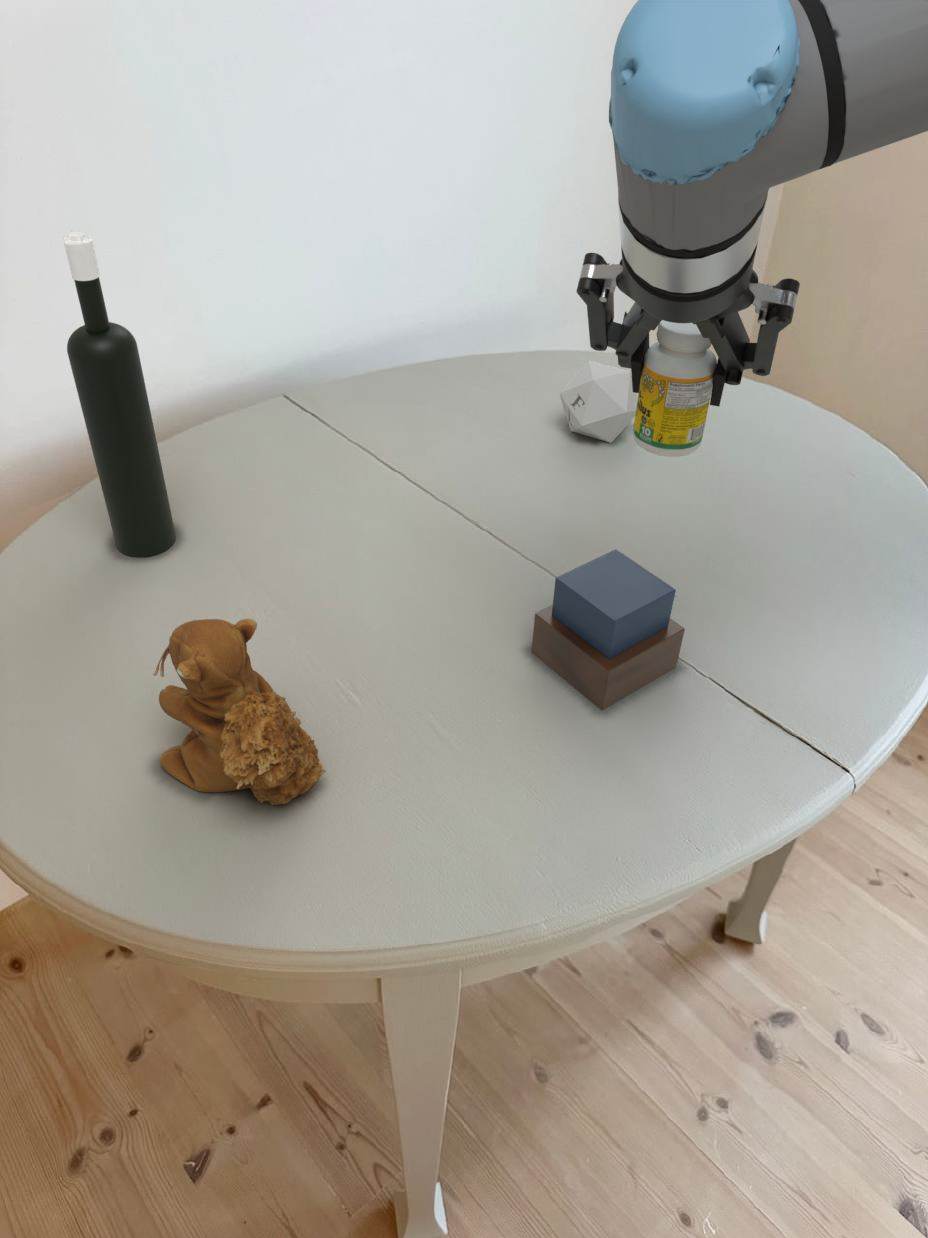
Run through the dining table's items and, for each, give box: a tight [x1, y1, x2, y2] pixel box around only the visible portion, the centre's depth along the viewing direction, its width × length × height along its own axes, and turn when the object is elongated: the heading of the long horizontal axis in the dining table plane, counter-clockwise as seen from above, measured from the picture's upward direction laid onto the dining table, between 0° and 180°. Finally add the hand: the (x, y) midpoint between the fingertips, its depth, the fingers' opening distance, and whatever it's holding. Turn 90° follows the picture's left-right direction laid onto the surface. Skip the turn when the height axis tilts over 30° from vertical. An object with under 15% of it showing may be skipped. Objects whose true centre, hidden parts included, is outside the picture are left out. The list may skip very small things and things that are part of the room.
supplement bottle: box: [632, 320, 718, 458], centre depth 72 cm, size 5×5×10 cm
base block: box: [531, 604, 686, 711], centre depth 82 cm, size 9×9×4 cm
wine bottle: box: [63, 230, 177, 559], centre depth 86 cm, size 6×6×30 cm
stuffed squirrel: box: [153, 618, 327, 806], centre depth 69 cm, size 10×14×13 cm
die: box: [558, 359, 638, 444], centre depth 113 cm, size 8×9×10 cm
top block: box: [552, 549, 677, 659], centre depth 80 cm, size 7×7×4 cm
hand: (679, 382), depth 76 cm, fingers closed on supplement bottle, 5 cm apart
